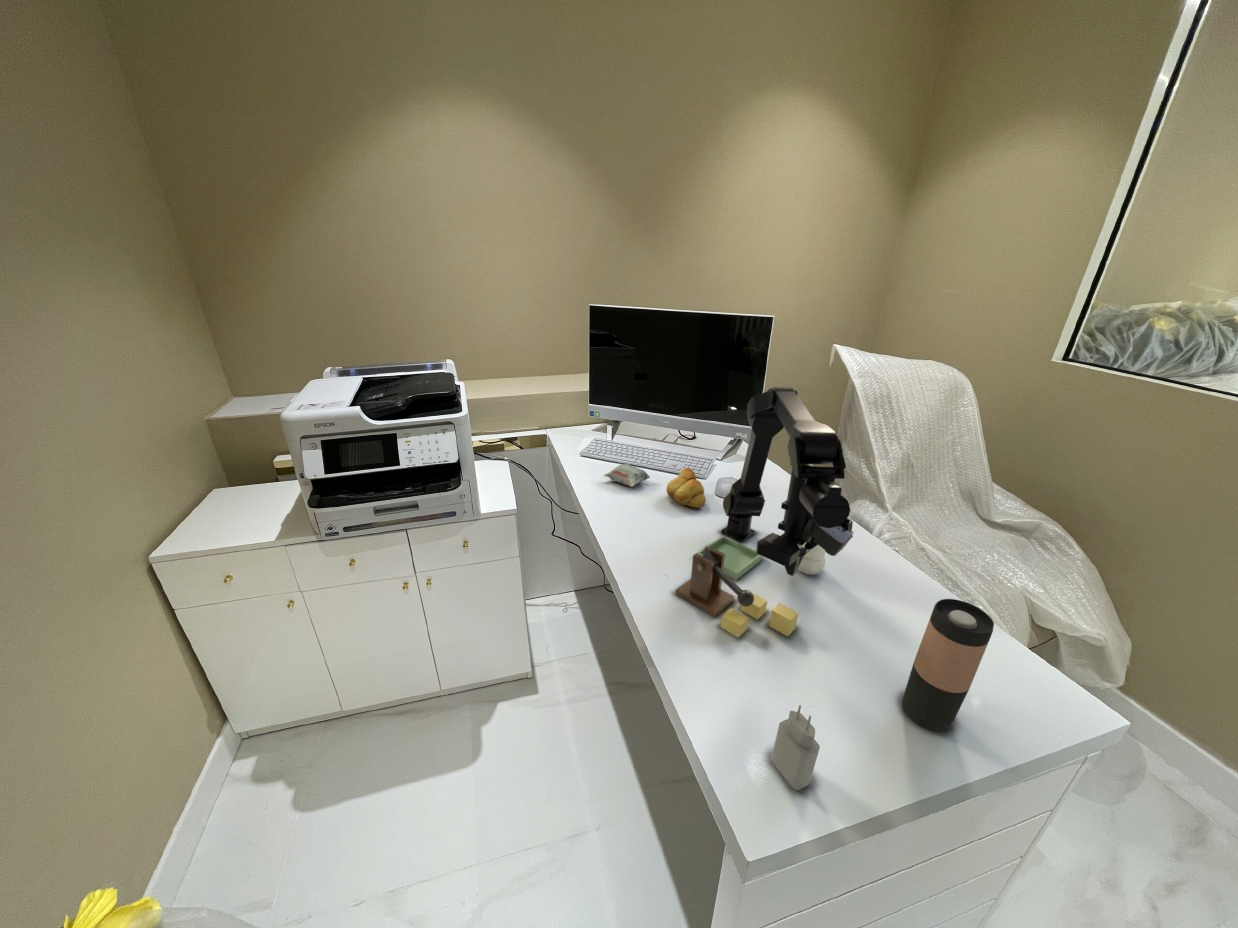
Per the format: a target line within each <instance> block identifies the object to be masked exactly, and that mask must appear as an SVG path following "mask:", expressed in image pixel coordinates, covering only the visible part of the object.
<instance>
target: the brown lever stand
mask: <svg viewBox="0 0 1238 928" xmlns="http://www.w3.org/2000/svg"><path fill="white" fill-rule="evenodd" d="M704 548H705V551H704V555H705V554H706V553H708V552H710V553H711V554H712V555H713V556H714V557H715V558H716V559H717V560H718V561H719V562H718V563H717V566H718V567H719V568H720V569H721V570H722V571H723V568H724V561H725V554H724V553H722V552H720V551H718V550H716V549H714V548H712V547H709V546H708V545H705V546H704ZM697 553H698V552H696V553H694V554H693V556H692V564H691V573H690V579H688V580H687V581H686V582H684V583H683V584H681V585H679V586H678V587H677V588H676V589H675V595H677V596H678V597H680V598H682V599H684V600H685V601H687V602H689V603H691V604H692V605H694V606H696V607H697V608H699V609H701V610H703V611H704V612H706V613H708V614H709V615H711V616H712V617H716V616H718V615H719V614H720V613H721V612H722V611H723V610H725V609H726V608H728V606H729V605H731V604H732V603H733V602H734V600H735V595H733V594H731V593H729V592H727V591H725V590H723V589H722V583H723V581H722V580H721V579H720V578H719V577H718V576H717V575H716V574H715V573H714V572H713V567H714V562H712V561H711V560H709V559H707V558H705V557H703V556H701V555H699V554H697Z"/></svg>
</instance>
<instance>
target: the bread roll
mask: <svg viewBox="0 0 1238 928" xmlns="http://www.w3.org/2000/svg"><path fill="white" fill-rule="evenodd" d="M666 493H667V496H669V498H671V499H673V500H674V501H675V502H676V503H678V504H679V505H683V506H688V507H690V508H702V507H703V506H705V504H706V502H707V498H706V496H705V488H704V486H703V484H702V482H701V481H700V480H698V479H697V475H696V473H695V471H694V470H693V469H691V468H689V467H688V468H687V467H686V468H683V469H682V470H680V472H679V474H678V475H677V477H674V478H673V479H671V480H670V481H669V482H668V483H667V485H666Z"/></svg>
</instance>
